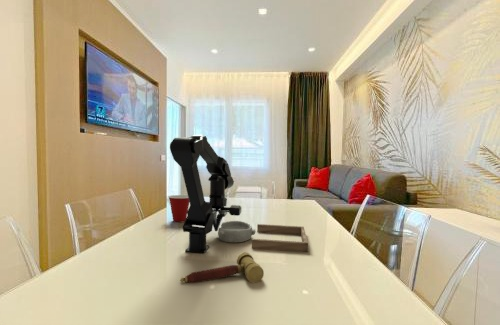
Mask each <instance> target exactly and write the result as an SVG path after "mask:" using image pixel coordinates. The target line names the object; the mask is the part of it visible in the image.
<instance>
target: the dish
mask: <svg viewBox="0 0 500 325" xmlns="http://www.w3.org/2000/svg"><path fill="white" fill-rule="evenodd" d="M220 225H221V226H220V227H219V228H218V231H217V236H218V239H219V240H220V241H221V242H224V243H243V242H246V241H249V240H250V239H252V236H254V235H255V234H256V232H257V230H256V229H255V228H253V227H252V225H251V224H250V223H248V222H245V221H241V220H230V221H224V222H222V223H221V224H220Z"/></svg>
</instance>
